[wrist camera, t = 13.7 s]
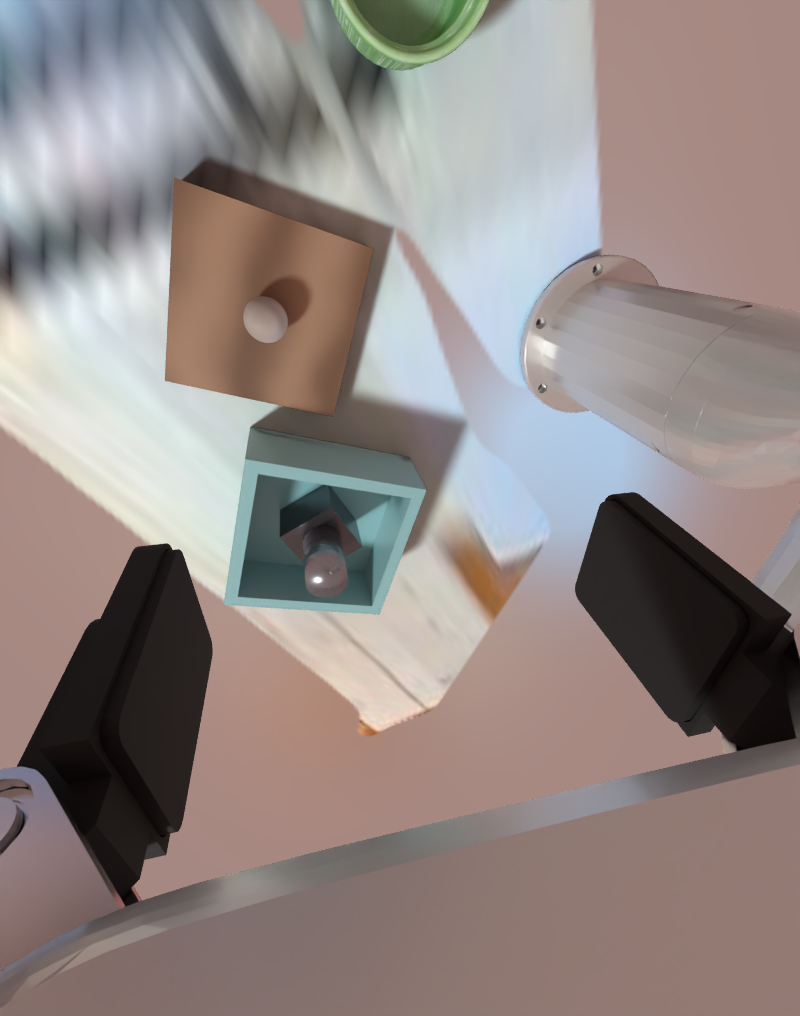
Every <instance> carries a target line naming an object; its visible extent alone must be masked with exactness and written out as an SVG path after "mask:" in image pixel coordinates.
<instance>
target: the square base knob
mask: <svg viewBox="0 0 800 1016" xmlns="http://www.w3.org/2000/svg"><path fill="white" fill-rule="evenodd" d="M280 538H281V539H282V541H283V542H284V543H285V544H286V545H287V546H288V547H289V548H290V549H291V550H292V551H293V552H294V553H295V555H296V556H297V557H298V558H299V559H300V560H301V561H302V562H303V563H304V569H305V585H306V588H307V590H308V591H309V592H310V593H311V594H312V595H314V596H316V597H320V598H329V597H333V596H336V595H338V594H340V593H341V592H342V591H344V589H345V588H346V587H347V585H348V574H347V568H346V563H345V557H346V556H347V555H349V554H351V553H353V552H355V551H356V550H358V549H360V548H362V543H361V538H360V534H359V530H358V526H357V522H356V519H355V518H354V517H353V515H352V514H351V513H350V511H349V510H348V509H347V507H346V506H345V505H344V503H343V502H342V501H341V499H340V498H339V497H338V495H337V494H336V493H335V491H334V490H333V489H332V487H331V486H330V485H322V486H320V487H318V488H317V489H315V490H313V491H311V492H310V493H308V494H306V495H305V496H303V497H301V498H299V499H298V500H296V501H294V502H293V503H291V504H289V505H287V506H286V507H284V508H282V509H281V510H280Z"/></svg>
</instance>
